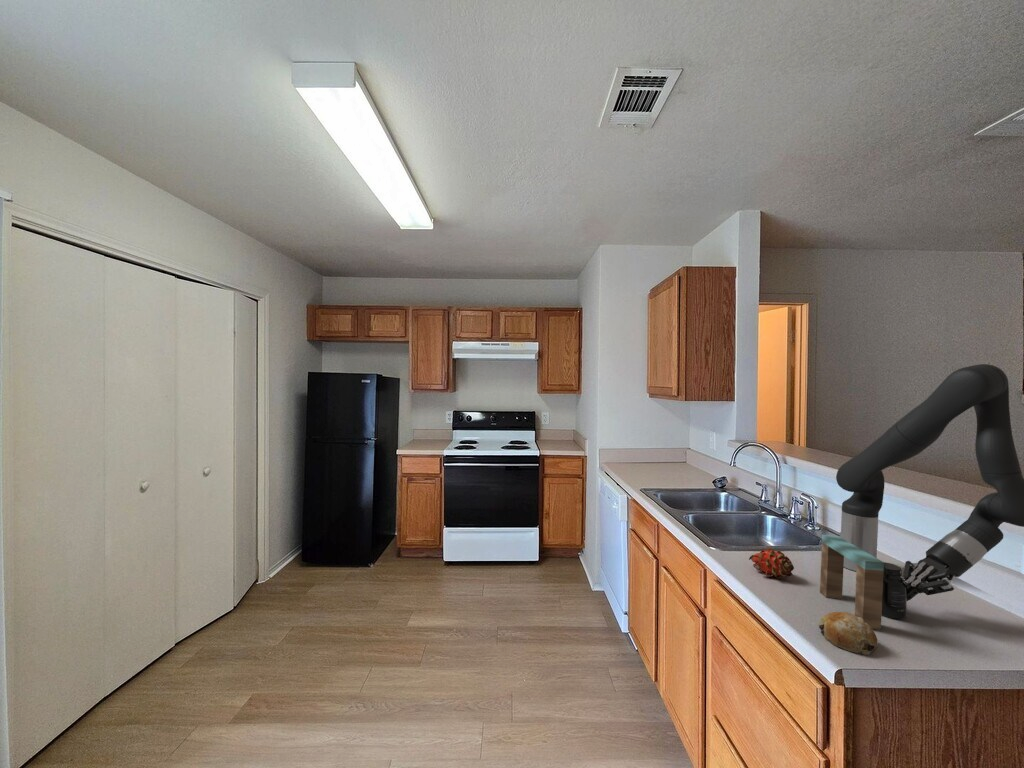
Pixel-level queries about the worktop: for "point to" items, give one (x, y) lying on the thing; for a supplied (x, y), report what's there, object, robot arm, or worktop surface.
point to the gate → (866, 577)
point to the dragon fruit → (772, 563)
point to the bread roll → (848, 632)
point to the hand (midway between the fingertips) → (900, 597)
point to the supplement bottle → (894, 592)
